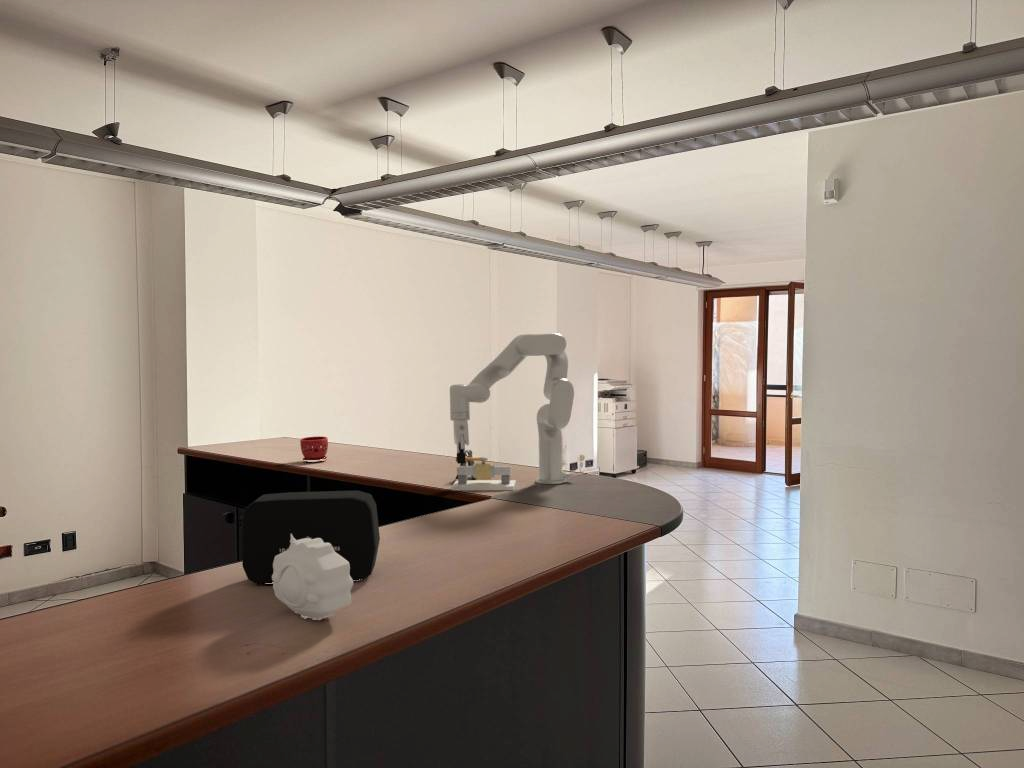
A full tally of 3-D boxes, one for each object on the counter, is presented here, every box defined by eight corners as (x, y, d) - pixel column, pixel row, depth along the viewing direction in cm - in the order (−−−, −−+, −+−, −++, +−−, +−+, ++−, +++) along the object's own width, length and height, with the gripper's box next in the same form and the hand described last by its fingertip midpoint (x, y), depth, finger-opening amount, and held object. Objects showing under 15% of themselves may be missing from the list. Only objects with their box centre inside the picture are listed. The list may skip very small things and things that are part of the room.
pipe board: (515, 483, 284) (515, 472, 283) (513, 490, 271) (513, 478, 271) (456, 484, 285) (456, 472, 285) (451, 490, 272) (451, 478, 272)
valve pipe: (511, 476, 280) (511, 460, 280) (510, 479, 274) (510, 462, 274) (458, 476, 282) (458, 460, 281) (456, 479, 276) (456, 462, 275)
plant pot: (299, 461, 354) (298, 437, 354) (325, 459, 360) (325, 435, 359) (303, 464, 343) (302, 440, 342) (330, 462, 348) (329, 438, 348)
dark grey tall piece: (479, 478, 299) (479, 449, 298) (476, 480, 293) (475, 451, 292) (459, 477, 300) (458, 449, 300) (455, 480, 295) (454, 451, 294)
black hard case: (241, 587, 161) (239, 500, 160) (257, 571, 173) (255, 490, 172) (376, 582, 163) (374, 496, 162) (382, 566, 175) (380, 486, 174)
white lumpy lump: (306, 600, 152) (304, 527, 151) (362, 619, 141) (360, 539, 140) (261, 616, 143) (258, 538, 142) (316, 637, 132) (313, 552, 131)
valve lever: (487, 460, 279) (487, 456, 279) (486, 461, 276) (486, 457, 276) (457, 460, 280) (457, 456, 280) (455, 461, 278) (455, 457, 278)
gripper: (472, 417, 268) (473, 465, 269) (467, 414, 283) (468, 459, 284) (452, 418, 267) (453, 466, 267) (448, 415, 281) (449, 460, 282)
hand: (461, 463), depth 276 cm, fingers closed
